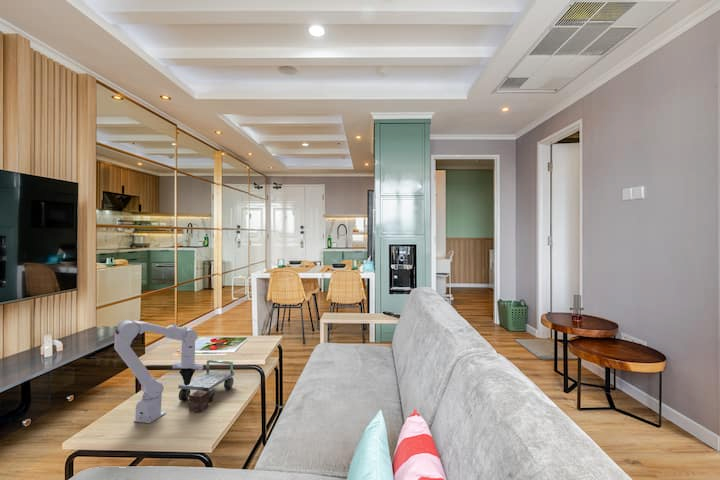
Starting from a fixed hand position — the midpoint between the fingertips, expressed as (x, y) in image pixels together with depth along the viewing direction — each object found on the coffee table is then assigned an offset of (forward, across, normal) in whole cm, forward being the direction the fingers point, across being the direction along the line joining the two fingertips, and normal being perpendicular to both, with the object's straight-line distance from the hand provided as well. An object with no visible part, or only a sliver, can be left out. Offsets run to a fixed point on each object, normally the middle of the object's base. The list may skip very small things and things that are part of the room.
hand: (187, 384), depth 159 cm
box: (+10, -8, +2) cm, 13 cm away
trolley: (+10, -1, -14) cm, 17 cm away
